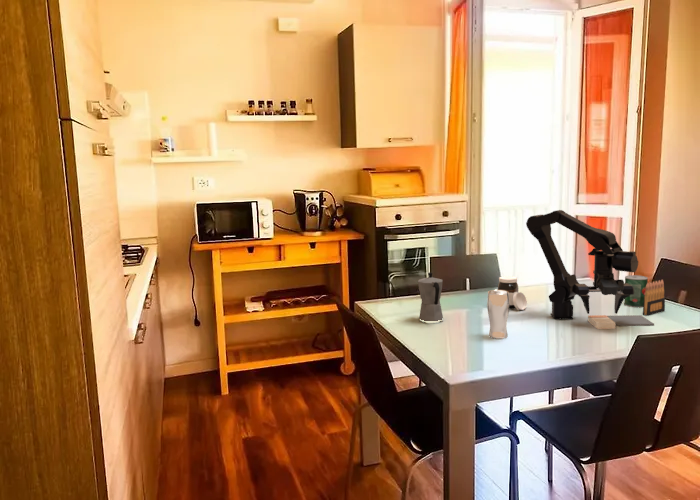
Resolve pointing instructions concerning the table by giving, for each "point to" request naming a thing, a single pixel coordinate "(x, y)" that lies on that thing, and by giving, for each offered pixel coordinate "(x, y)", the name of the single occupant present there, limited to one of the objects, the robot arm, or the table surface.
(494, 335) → the beer glass
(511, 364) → the table surface
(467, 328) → the table surface
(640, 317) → the card mat
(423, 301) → the coffeepot
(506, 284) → the spread jar
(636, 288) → the canned tomato
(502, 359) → the table surface
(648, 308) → the ammunition clip
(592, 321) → the card deck
